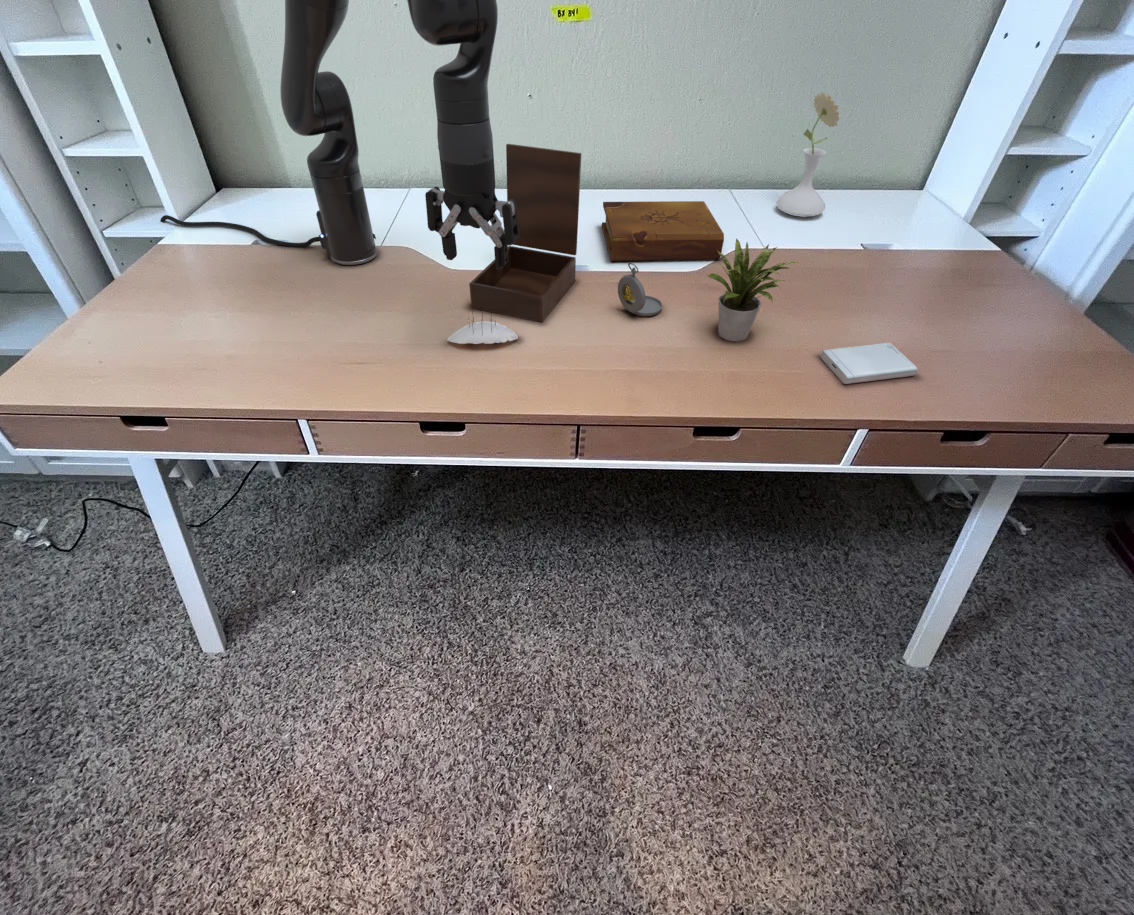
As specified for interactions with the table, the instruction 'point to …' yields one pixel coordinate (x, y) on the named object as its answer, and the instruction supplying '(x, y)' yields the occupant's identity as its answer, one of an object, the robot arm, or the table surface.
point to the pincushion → (482, 333)
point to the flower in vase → (810, 167)
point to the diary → (661, 231)
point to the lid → (545, 196)
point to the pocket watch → (637, 296)
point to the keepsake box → (524, 284)
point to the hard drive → (868, 363)
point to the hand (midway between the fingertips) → (475, 262)
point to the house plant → (743, 292)
